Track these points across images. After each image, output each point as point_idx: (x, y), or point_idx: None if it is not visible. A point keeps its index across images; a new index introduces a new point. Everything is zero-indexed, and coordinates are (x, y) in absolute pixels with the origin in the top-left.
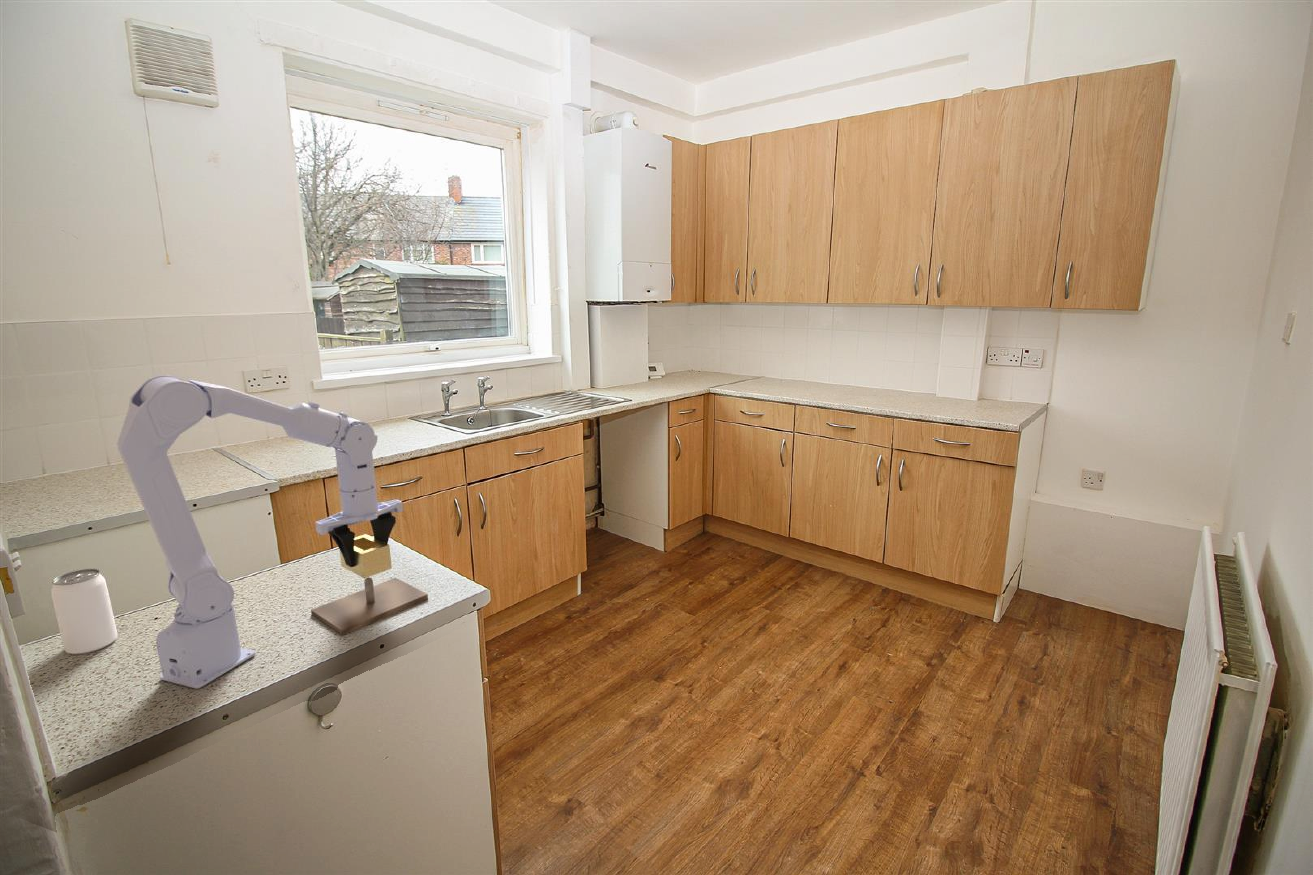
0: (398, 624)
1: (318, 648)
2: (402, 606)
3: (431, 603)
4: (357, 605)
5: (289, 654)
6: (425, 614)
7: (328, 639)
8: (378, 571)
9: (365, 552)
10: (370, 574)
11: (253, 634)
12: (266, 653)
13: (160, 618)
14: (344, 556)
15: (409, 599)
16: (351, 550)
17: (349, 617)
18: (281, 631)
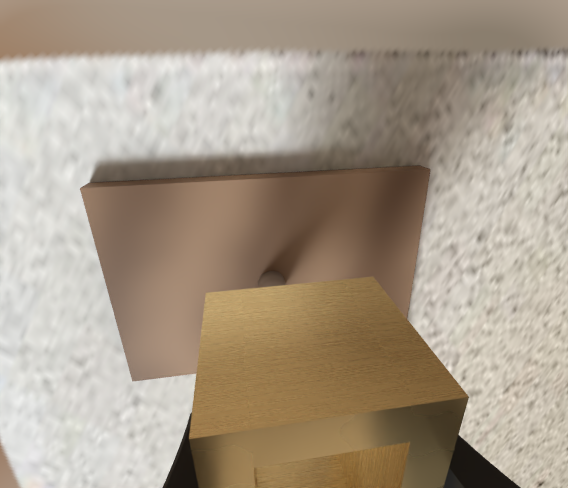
0: (267, 81)
1: (496, 147)
2: (202, 179)
3: (91, 137)
4: None
5: (547, 179)
6: (150, 66)
7: (451, 176)
8: (292, 290)
9: (430, 407)
10: (340, 286)
11: (514, 334)
12: (562, 229)
13: (538, 481)
14: None
15: (161, 200)
16: (483, 481)
17: (369, 231)
18: (479, 306)
